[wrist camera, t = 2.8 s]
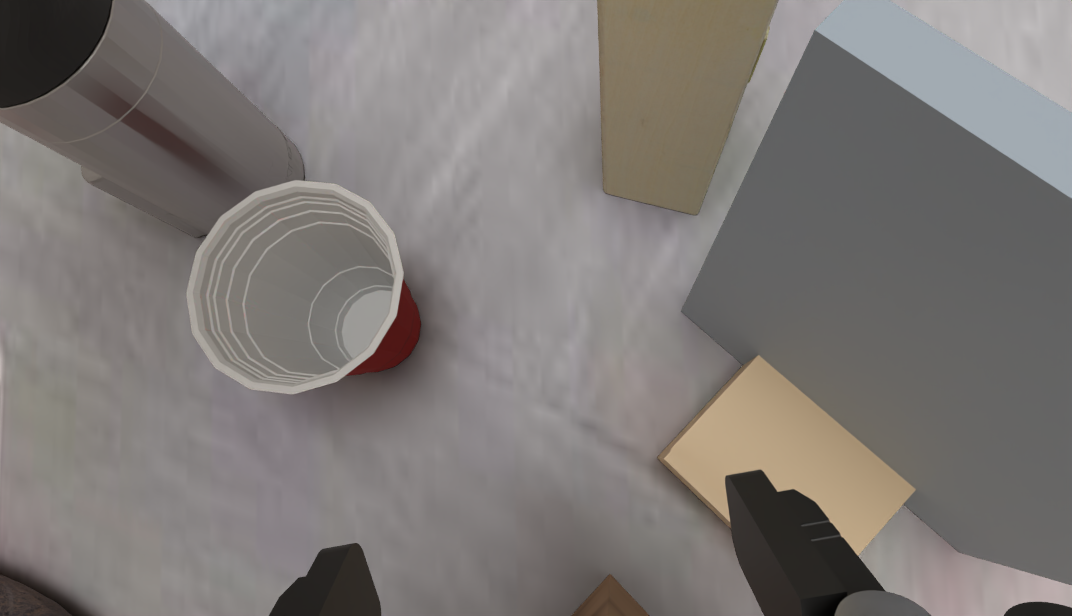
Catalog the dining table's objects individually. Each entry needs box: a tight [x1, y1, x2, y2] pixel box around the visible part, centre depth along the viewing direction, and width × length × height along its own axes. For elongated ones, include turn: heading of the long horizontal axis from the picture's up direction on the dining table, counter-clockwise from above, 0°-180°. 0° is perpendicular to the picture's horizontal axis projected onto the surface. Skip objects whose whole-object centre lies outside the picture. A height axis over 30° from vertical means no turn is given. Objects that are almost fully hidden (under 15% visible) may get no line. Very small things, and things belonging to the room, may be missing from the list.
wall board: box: [657, 0, 1072, 585], centre depth 22 cm, size 15×20×26 cm
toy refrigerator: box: [597, 0, 779, 215], centre depth 30 cm, size 8×7×21 cm
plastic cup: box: [186, 180, 421, 394], centre depth 34 cm, size 11×11×12 cm
